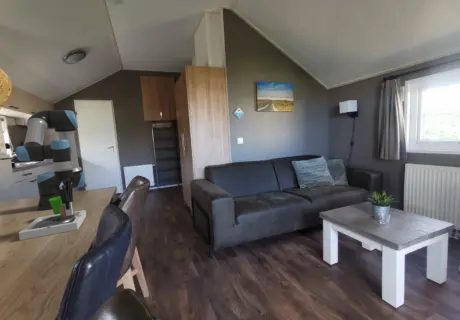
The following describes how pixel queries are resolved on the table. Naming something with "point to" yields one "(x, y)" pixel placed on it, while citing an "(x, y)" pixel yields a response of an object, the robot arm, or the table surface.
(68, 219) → the dial
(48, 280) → the table surface
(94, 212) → the table surface
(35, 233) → the white square tray
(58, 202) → the cup
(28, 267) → the table surface
